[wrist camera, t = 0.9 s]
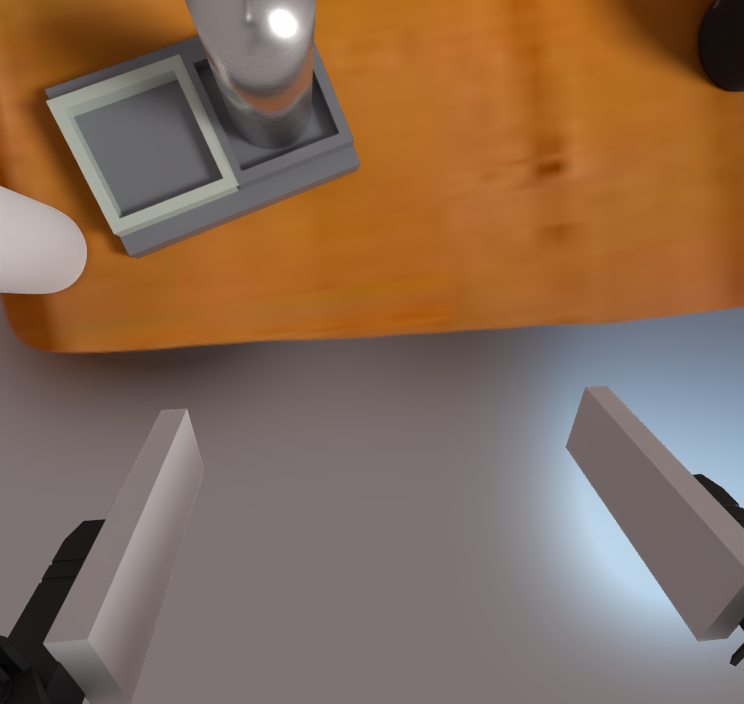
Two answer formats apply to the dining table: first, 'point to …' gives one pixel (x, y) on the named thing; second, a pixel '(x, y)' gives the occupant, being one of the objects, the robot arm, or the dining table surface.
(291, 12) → the seated cylinder
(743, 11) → the pen holder
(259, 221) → the dining table surface
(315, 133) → the pocket board
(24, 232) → the can
